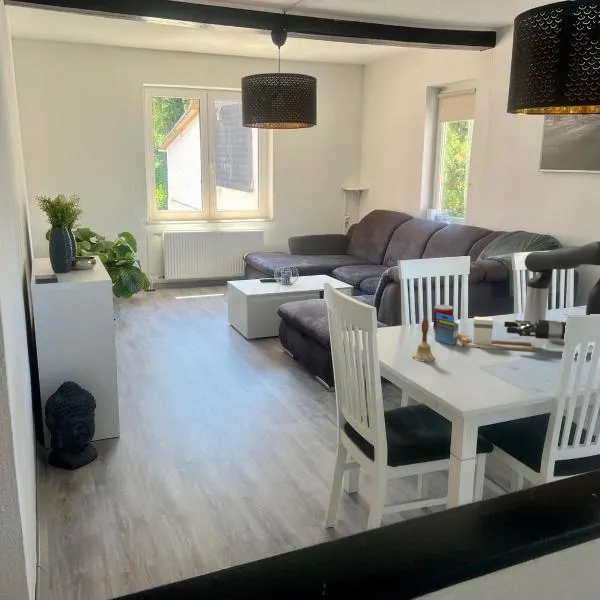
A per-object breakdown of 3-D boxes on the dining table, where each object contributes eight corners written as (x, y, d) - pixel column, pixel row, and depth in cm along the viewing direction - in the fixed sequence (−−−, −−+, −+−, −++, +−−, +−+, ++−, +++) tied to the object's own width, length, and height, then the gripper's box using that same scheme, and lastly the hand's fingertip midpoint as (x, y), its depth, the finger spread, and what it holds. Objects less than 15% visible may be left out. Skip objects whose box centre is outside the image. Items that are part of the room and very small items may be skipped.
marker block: (472, 342, 249) (474, 316, 246) (489, 343, 248) (492, 317, 245) (472, 345, 245) (474, 319, 242) (490, 346, 243) (493, 320, 240)
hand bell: (427, 363, 224) (429, 322, 220) (408, 358, 229) (410, 317, 225) (438, 358, 230) (441, 317, 226) (420, 352, 235) (422, 313, 231)
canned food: (455, 332, 262) (456, 308, 259) (439, 334, 259) (441, 309, 256) (444, 327, 269) (446, 303, 266) (429, 329, 266) (431, 305, 263)
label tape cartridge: (457, 343, 247) (459, 314, 244) (452, 345, 244) (454, 316, 241) (439, 338, 253) (441, 310, 250) (433, 340, 251) (435, 312, 247)
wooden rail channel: (460, 339, 253) (460, 332, 252) (529, 343, 247) (530, 336, 247) (461, 347, 242) (462, 340, 242) (534, 352, 237) (535, 344, 236)
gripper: (545, 316, 245) (504, 313, 248) (552, 325, 232) (508, 323, 235) (543, 333, 247) (502, 330, 250) (550, 344, 233) (506, 341, 237)
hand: (505, 327), depth 242 cm, fingers open, 8 cm apart
